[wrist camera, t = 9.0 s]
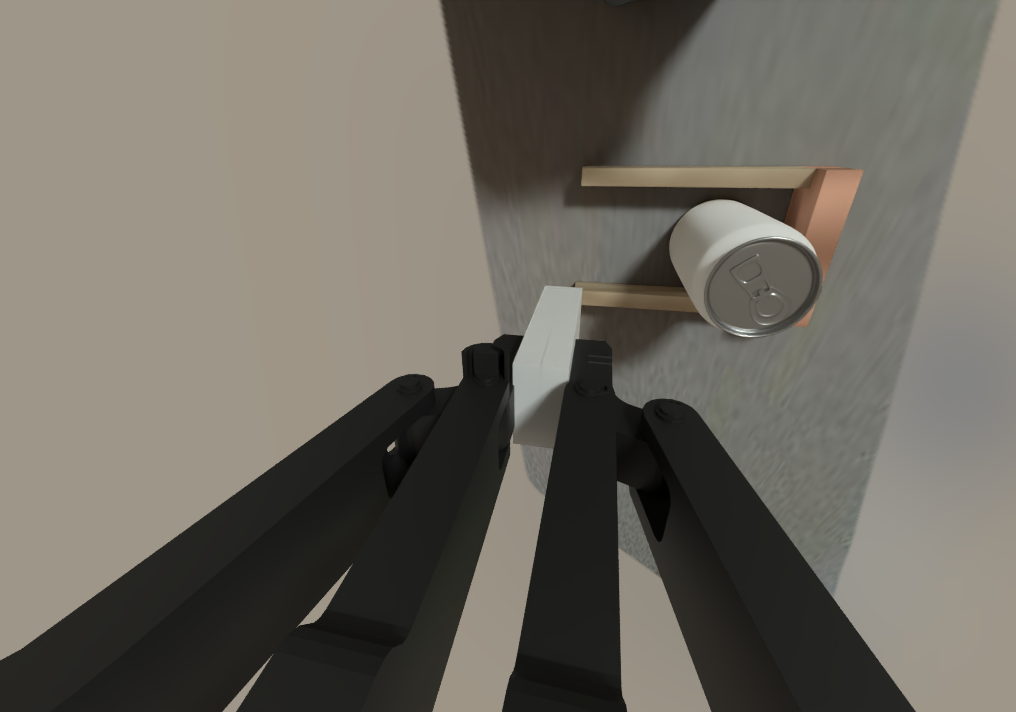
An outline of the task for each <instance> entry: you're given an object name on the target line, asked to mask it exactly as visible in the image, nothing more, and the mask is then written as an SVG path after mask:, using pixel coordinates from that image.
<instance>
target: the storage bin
mask: <svg viewBox="0 0 1016 712" xmlns="http://www.w3.org/2000/svg"><path fill="white" fill-rule="evenodd" d="M631 1H634V0H605V2H606V3H607V4H609V5H611V6H618V5H622V4H625V3H628V2H631Z"/></svg>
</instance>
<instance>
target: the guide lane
mask: <svg viewBox="0 0 1016 712" xmlns="http://www.w3.org/2000/svg"><path fill="white" fill-rule="evenodd" d="M863 172H864V170H858V169H850V168H842V167H834V166H584V167H583V168H582V181H581V186H636V187H726V188H794V190H793V194H792V197H791V200H790V204H789V207H788V210H787V214H786V217H785V221H784V224H786V225H788V226H790V227H792V228H793V229H795V230H797V231H798V232H800V233H801V234H802V235H803V236H804V237H805V238H806V239H807V240H808V241H809V242H810V243H811V245H812V246H813V248H814V250H815V252H816V255H817V258H818V260H819V262H820V264H821V267H822V272H823V282H824V279H825V276H826V273H827V271H828V268H829V265H830V262H831V260H832V257H833V254H834V251H835V249H836V246H837V243H838V240H839V238H840V235H841V232H842V229H843V227H844V224H845V221H846V218H847V216H848V213H849V210H850V207H851V205H852V202H853V199H854V196H855V194H856V191H857V188H858V185H859V183H860V180H861V177H862V174H863ZM575 288H583V289H582V302H581V305H592V306H607V307H622V308H637V309H652V310H667V311H683V312H698V311H697V309H696V308H695V306H694V304H693V302H692V301H691V299H690V297H689V295H688V293H687V291H686V289H685V287H668V286H650V285H632V284H614V283H596V282H577V281H576V283H575ZM815 304H816V303H815ZM814 306H815V305H814ZM814 306H813V308H812V309H811V310H810V311H809V313H808V314H807V315H806V316H805V317H804V318H803V319H801V320H800V321H799V322H798V323H796V324H795V325H793V326H800V327H807V326H808V323H809V320H810V317H811V315H812V312H813V309H814ZM698 313H699V312H698Z"/></svg>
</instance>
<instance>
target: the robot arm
mask: <svg viewBox="0 0 1016 712" xmlns="http://www.w3.org/2000/svg"><path fill="white" fill-rule="evenodd" d="M582 289H583V288H575V287H557V286H545V288H544V290H543V292H542V295H541V297H540V300H539V302H538V304H537V307H536V309H535V311H534V314H533V316H532V319H531V321H530V323H529V326H528V328H527V331H526V333H525V335H524V336H519V335H506V334H503V335H502V336H500V337H499V338H497V339H496V340H495V341H494V342H493V343H480V344H474V345H471V346H469V347H466V348H465V349H464V350H463V351H462V365H463V379H462V381H461V382H460V384H459V386H455V387H448V388H436V389H435V388H434V382H433V380H432V379H431V378H429V377H427V376H425V375H419V374H412V375H411V374H408V375H405V376H401V377H398V378H396V379H394V380H392V381H390V382H389V383H388V384H386V385H385V386H384V387H382V388H381V389H380V390H378V391H377V392H375V393H374V394H373V395H371V396H370V397H368V398H367V399H366V400H365V401H363V402H362V403H360V404H359V405H357V406H356V407H355V408H353V409H352V410H351V411H349V412H348V413H347V414H345V415H344V416H342V417H341V418H339V419H338V420H337V421H335V422H334V423H333V424H331V425H330V426H328V427H327V428H326V429H325V430H323V431H322V432H320V433H319V434H317V435H316V436H315V437H313V438H312V439H311V440H309V441H308V442H306V443H305V444H304V445H302V446H301V447H300V448H298V449H297V450H295V451H294V452H293V453H291V454H290V455H288V456H287V457H286V458H284V459H283V460H282V461H280V462H279V463H277V464H276V465H275V466H273V467H272V468H271V469H269V470H268V471H266V472H265V473H264V474H262V475H261V476H259V477H258V478H257V479H255V480H254V481H253V482H251V483H250V484H248V485H247V486H246V487H244V488H243V489H242V490H240V491H239V492H237V493H236V494H235V495H233V496H232V497H230V498H229V499H228V500H226V501H225V502H224V503H222V504H221V505H219V506H218V507H217V508H216V509H214V510H213V511H211V512H210V513H209V514H207V515H206V516H204V517H203V518H202V519H200V520H199V521H197V522H196V523H195V524H193V525H192V526H191V527H189V528H188V529H186V530H185V531H184V532H182V533H181V534H179V535H178V536H177V537H175V538H174V539H173V540H171V541H170V542H168V543H167V544H166V545H165V546H163V547H162V548H160V549H159V550H157V551H156V552H155V553H153V554H152V555H150V556H149V557H148V558H147V559H145V560H144V561H142V562H141V563H140V564H138V565H137V566H135V567H134V568H133V569H131V570H130V571H129V572H127V573H126V574H124V575H123V576H122V577H120V578H119V579H117V580H116V581H115V582H113V583H112V584H110V585H109V586H108V587H106V588H105V589H104V590H102V591H101V592H100V593H98V594H97V595H95V596H94V597H93V598H91V599H90V600H88V601H87V602H86V603H84V604H83V605H82V606H80V607H79V608H77V609H76V610H75V611H73V612H72V613H70V614H69V615H68V616H66V617H65V618H64V619H62V620H61V621H59V622H58V623H57V624H55V625H54V626H53V627H51V628H50V629H48V630H47V631H46V632H44V633H43V634H42V635H40V636H39V637H37V638H36V639H35V640H33V641H32V642H30V643H29V644H28V645H26V646H25V647H24V648H22V649H21V650H19V651H17V652H15V653H13V654H12V655H10V656H8V657H6V658H4V659H2V660H0V712H222V711H223V710H224V709H225V708H226V707H227V706H228V704H229V703H230V702H231V701H232V700H233V699H234V697H236V695H237V694H238V693H239V692H240V691H241V690H242V689H243V687H244V686H245V685H246V684H247V683H248V682H249V680H251V678H252V677H253V676H254V675H255V674H256V673H257V671H258V670H259V669H260V668H261V667H262V666H263V665H264V664H265V663H266V661H267V660H268V659H269V658H270V657H271V656H272V657H271V659H270V660H269V662H268V663H267V665H266V666H265V668H264V669H263V671H262V673H261V674H260V676H259V677H258V679H257V680H256V682H255V684H254V685H253V687H252V688H251V690H250V691H249V693H248V695H247V696H246V697H245V699H244V701H243V702H242V704H241V705H240V707H239V708H238V710H237V711H236V712H432V711H433V708H434V704H435V701H436V698H437V694H438V691H439V688H440V685H441V681H442V678H443V675H444V671H445V668H446V665H447V661H448V658H449V655H450V651H451V648H452V645H453V642H454V638H455V635H456V631H457V628H458V625H459V622H460V618H461V615H462V612H463V609H464V605H465V602H466V599H467V595H468V592H469V589H470V585H471V582H472V579H473V576H474V572H475V569H476V566H477V562H478V559H479V555H480V552H481V549H482V546H483V543H484V539H485V536H486V533H487V529H488V526H489V523H490V519H491V516H492V513H493V509H494V506H495V503H496V499H497V496H498V493H499V490H500V486H501V483H502V480H503V476H504V473H505V470H506V467H507V463H508V460H509V456H510V439H511V436H512V433H513V443H515V444H522V445H530V446H537V447H545V448H552V449H554V450H553V456H552V462H551V467H550V473H549V478H548V484H547V490H546V495H545V501H544V507H543V512H542V518H541V524H540V530H539V535H538V540H537V546H536V552H535V557H534V563H533V568H532V574H531V580H530V586H529V591H528V597H527V603H526V608H525V614H524V619H523V625H522V630H521V636H520V642H519V648H518V653H517V658H516V663H515V667H514V671H513V672H512V674H511V676H510V678H509V683H508V686H507V690H506V695H505V700H504V705H503V709H502V712H627V708H626V704H625V701H624V699H623V697H622V689H621V658H620V657H621V656H620V655H621V654H620V613H619V611H620V608H619V563H618V562H619V560H618V513H617V481H619V482H621V483H624V484H626V485H629V490H630V495H631V498H632V500H633V503H634V506H635V508H636V511H637V514H638V516H639V519H640V522H641V524H642V527H643V530H644V532H645V535H646V538H647V540H648V543H649V546H650V549H651V551H652V554H653V557H654V559H655V562H656V565H657V567H658V570H659V573H660V575H661V578H662V581H663V583H664V586H665V589H666V591H667V594H668V596H669V599H670V602H671V604H672V607H673V610H674V613H675V615H676V618H677V621H678V623H679V626H680V629H681V631H682V634H683V636H684V639H685V642H686V645H687V647H688V650H689V653H690V655H691V658H692V661H693V663H694V666H695V669H696V671H697V674H698V677H699V680H700V682H701V685H702V688H703V690H704V693H705V696H706V698H707V700H708V704H709V706H710V709H711V711H712V712H915V710H914V709H913V707H912V706H911V705H910V703H909V702H908V701H907V699H906V698H905V696H904V695H903V694H902V692H901V691H900V690H899V688H898V687H897V686H896V684H895V683H894V681H893V680H892V678H891V677H890V676H889V674H888V673H887V672H886V670H885V669H884V668H883V666H882V665H881V663H880V662H879V661H878V659H877V658H876V657H875V655H874V654H873V652H872V651H871V650H870V648H869V647H868V646H867V644H866V643H865V641H864V640H863V639H862V637H861V636H860V635H859V633H858V632H857V631H856V629H855V628H854V626H853V625H852V624H851V622H850V621H849V619H848V618H847V617H846V615H845V614H844V613H843V611H842V610H841V609H840V607H839V606H838V604H837V603H836V602H835V600H834V599H833V598H832V596H831V595H830V593H829V592H828V591H827V589H826V588H825V587H824V585H823V584H822V582H821V581H820V580H819V578H818V577H817V576H816V574H815V573H814V571H813V570H812V569H811V567H810V566H809V565H808V563H807V562H806V561H805V559H804V558H803V556H802V555H801V554H800V552H799V551H798V550H797V548H796V547H795V545H794V544H793V543H792V541H791V540H790V539H789V537H788V536H787V534H786V533H785V532H784V530H783V529H782V528H781V526H780V525H779V524H778V522H777V521H776V519H775V518H774V517H773V515H772V514H771V513H770V511H769V510H768V508H767V507H766V506H765V504H764V503H763V502H762V500H761V499H760V497H759V496H758V495H757V493H756V492H755V491H754V489H753V488H752V486H751V485H750V484H749V482H748V481H747V480H746V478H745V477H744V476H743V474H742V473H741V471H740V470H739V469H738V467H737V466H736V465H735V463H734V462H733V460H732V459H731V458H730V456H729V455H728V454H727V452H726V451H725V449H724V448H723V447H722V445H721V444H720V443H719V441H718V440H717V439H716V437H715V436H714V434H713V433H712V432H711V430H710V429H709V428H708V426H707V425H706V423H705V422H704V421H703V419H702V418H701V417H700V415H699V414H698V413H697V412H696V411H695V410H694V409H693V408H692V407H690V406H688V405H686V404H685V403H683V402H680V401H676V400H672V399H655V400H651V401H649V402H647V403H646V404H645V405H644V407H643V409H641V408H638V407H635V406H632V405H630V404H627V403H625V402H623V401H622V400H620V399H619V398H618V397H617V396H616V395H615V392H614V389H613V387H612V349H611V347H610V346H609V345H608V344H607V343H606V342H605V341H594V340H582V339H579V328H580V315H581V302H582ZM393 442H395V447H394V448H393V449H392V450H391V451H389V452H388V451H387V448H388V447H389V445H391V444H392V443H393ZM352 564H353V565H352ZM351 565H352V566H351ZM350 566H351V568H350V570H349V572H348V573H347V575H346V576H345V578H344V580H343V582H342V583H341V585H340V587H339V588H338V590H337V592H336V593H335V595H334V597H333V598H332V600H331V602H330V604H329V605H328V607H327V609H326V610H325V611H324V613H323V614H322V616H321V617H320V618H319V619H318V620H317V621H315V622H314V623H310V624H305V625H300V626H298V625H299V624H300V623H301V622H302V621H303V619H304V618H305V617H306V616H307V615H308V614H309V612H310V611H311V610H312V609H313V608H314V607H315V606H316V605H317V604H318V603H319V601H320V600H321V599H322V598H323V597H324V596H325V595H326V593H327V592H328V591H329V590H330V589H331V588H332V587H333V585H334V584H335V583H336V582H337V581H338V580H339V579H340V578H341V576H342V575H343V574H344V573H345V572H346V571H347V570H348V569H349V567H350ZM297 626H298V627H297ZM296 627H297V628H296ZM273 653H274V654H273Z"/></svg>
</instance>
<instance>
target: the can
mask: <svg viewBox="0 0 1016 712" xmlns="http://www.w3.org/2000/svg"><path fill="white" fill-rule="evenodd" d="M669 253H670V258H671V261H672V264H673V266H674V268H675V270H676V272H677V274H678V276H679V278H680V280H681V282H682V284H683V285H684V287H685V289H686V291H687V293H688V295H689V297H690V299H691V301H692V302H693V304H694V306H695V308H696V309H697V311H698V312H699V313H700V315H701V316H702V317H703V318H704V319H705V320H706V321H707V322H709V323H710V324H712V325H713V326H715V327H717V328H719V329H722V330H723V331H725V332H727V333H729V334H732V335H735V336H739V337H745V338H760V337H767V336H771V335H774V334H777V333H780V332H782V331H784V330H786V329H788V328H790V327H792V326H793V325H795V324H796V323H798V322H799V321H800V320H801V319H803V318H804V317H805V316H806V315H807V314H808V313H809V311H810V310H811V309H812V308H813V306H814V305H815V303H816V301H817V299H818V297H819V295H820V292H821V289H822V284H823V272H822V267H821V264H820V262H819V260H818V258H817V255H816V252H815V250H814V248H813V246H812V245H811V243H810V242H809V241H808V240H807V239H806V238H805V237H804V236H803V235H802V234H801V233H800V232H798V231H797V230H795V229H793V228H792V227H790V226H788V225H786V224H784V223H782V222H780V221H778V220H776V219H774V218H772V217H770V216H768V215H765V214H763V213H761V212H759V211H757V210H755V209H753V208H751V207H749V206H746V205H744V204H742V203H739V202H737V201H733V200H728V199H716V200H711V201H707V202H704V203H701V204H699V205H697V206H695V207H694V208H692V209H691V210H689V211H688V212H687V213H686V214H685V215H684V216H683V217H682V218H681V219H680V220H679V222H678V223H677V224H676V226H675V228H674V230H673V232H672V235H671V238H670V243H669Z"/></svg>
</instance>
